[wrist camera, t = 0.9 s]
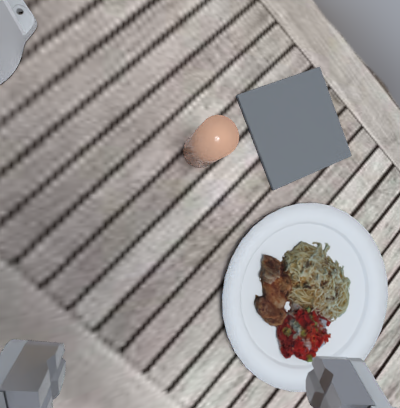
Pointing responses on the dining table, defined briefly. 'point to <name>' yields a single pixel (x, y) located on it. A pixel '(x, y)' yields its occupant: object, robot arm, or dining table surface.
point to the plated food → (303, 293)
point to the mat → (294, 127)
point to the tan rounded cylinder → (211, 141)
